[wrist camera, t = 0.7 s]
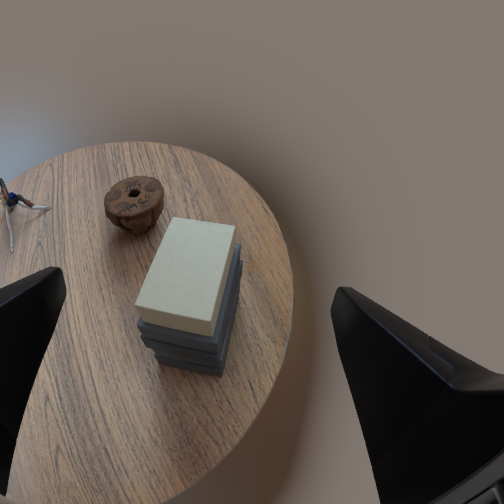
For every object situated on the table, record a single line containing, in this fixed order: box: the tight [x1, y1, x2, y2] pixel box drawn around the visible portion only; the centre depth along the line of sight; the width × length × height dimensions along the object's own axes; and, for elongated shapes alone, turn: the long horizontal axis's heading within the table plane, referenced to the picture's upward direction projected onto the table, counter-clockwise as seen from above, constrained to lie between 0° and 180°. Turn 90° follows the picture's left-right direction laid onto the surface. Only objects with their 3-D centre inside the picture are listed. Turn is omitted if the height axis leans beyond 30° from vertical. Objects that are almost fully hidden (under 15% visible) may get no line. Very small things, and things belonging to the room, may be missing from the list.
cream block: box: [135, 217, 236, 337], centre depth 21 cm, size 8×5×2 cm, turn 171°
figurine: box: [0, 178, 51, 252], centre depth 34 cm, size 10×9×20 cm
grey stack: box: [137, 243, 243, 377], centre depth 25 cm, size 9×6×8 cm
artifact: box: [104, 176, 164, 233], centre depth 34 cm, size 8×8×5 cm
